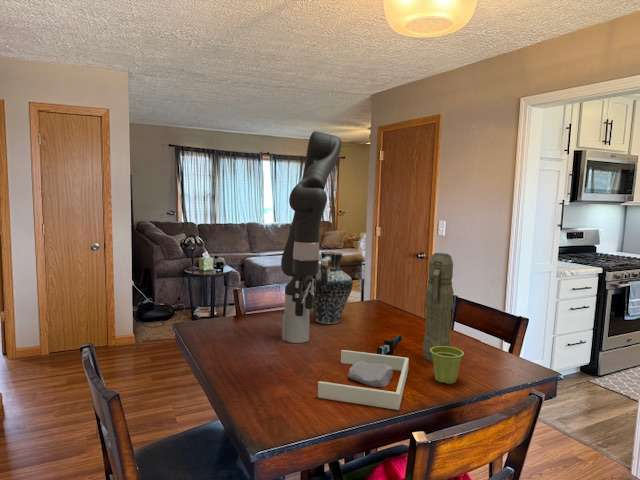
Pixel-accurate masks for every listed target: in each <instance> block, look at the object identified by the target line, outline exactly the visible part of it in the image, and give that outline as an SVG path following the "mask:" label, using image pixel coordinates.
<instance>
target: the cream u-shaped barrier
mask: <svg viewBox="0 0 640 480" xmlns="http://www.w3.org/2000/svg"><path fill="white" fill-rule="evenodd" d="M409 360H410V359H409V357H403V356H396V355H390V354H388V355H387V354H384V355H380V354H377V353H373V352H372V353H370V352H363V351H354V350H347V349H341V352H340V363H341V364H343V365H344V364H345V365H352V366H353V365H354V364H355V363H357V362H359V361H365V362H366V363H370V364H377V363H379V364H387V365H389V366H391V368H392V369H393V371H399V372H400V376H399V379H398V383H397V388H396V390H395V391H388V390H382V389H376V388H369V387H362V386H357V385H356V386H355V385H349V384H348V385H347V384H341V383H334V382H328V381H327V382H326V381H318V382H317V386H318V387H317V398H319V399H326V400H332V401H337V402H338V401H339V402H344V403H345V402H346V403H353V404H359V405H364V406H369V407H370V406H371V407H378V408H383V409H384V408H385V409H391V410H395V411H397V410H398V411H399V410H400V407H401V402H402V398H403V394H404V391H405V386H406V381H407V377H408V372H409V363H410V361H409Z"/></svg>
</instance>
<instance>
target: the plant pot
mask: <svg viewBox="0 0 640 480" xmlns="http://www.w3.org/2000/svg"><path fill="white" fill-rule="evenodd" d="M430 352H431V353H432V357H433V362H432V365H433V372H434V373H433V374H434V380H435V381H437V382H438V383H441V384H443V383H445V384H446V385H449V384H455V383H456V382H457V380H458V374H459V369H460V365H461V360H462V358H463V356H465V355H464V354H465V353H464V351H463V350H461V349H459V348H457V347H453V346H451V347H448V346H436V347H432V348H431V349H430Z"/></svg>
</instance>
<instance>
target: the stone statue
mask: <svg viewBox="0 0 640 480" xmlns="http://www.w3.org/2000/svg"><path fill="white" fill-rule="evenodd" d="M428 262H429V263H428V281H427V285H426V289H425V299H424V300H425V301H424V303H425V304H424V305H425V308H426V311H425V312H426V313H425V314H426V315H425V329H424V331H425V332H424V338H423V341H422V351H423V353H422V358H423V359H424V360H426V361H428V362H432V363H433V357H432V353H431V352H430V349H431V348H432V347H436V346H448V347H452V343H451V342H452V341H451V340H452V339H451V319H452V315H451V314H452V309H453V307H454V288H453V282H452V279H453V277H454V276H453V275H454V273H453V271H454V270H453V269H454V261H453V257H452V255H450V254H449V253H443V252H435V253H433V254H432V255H431V256H430V259H429V261H428Z"/></svg>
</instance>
